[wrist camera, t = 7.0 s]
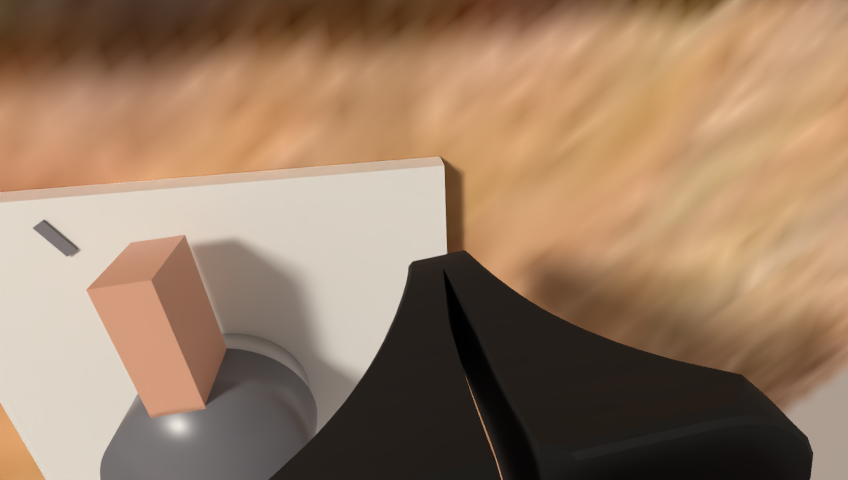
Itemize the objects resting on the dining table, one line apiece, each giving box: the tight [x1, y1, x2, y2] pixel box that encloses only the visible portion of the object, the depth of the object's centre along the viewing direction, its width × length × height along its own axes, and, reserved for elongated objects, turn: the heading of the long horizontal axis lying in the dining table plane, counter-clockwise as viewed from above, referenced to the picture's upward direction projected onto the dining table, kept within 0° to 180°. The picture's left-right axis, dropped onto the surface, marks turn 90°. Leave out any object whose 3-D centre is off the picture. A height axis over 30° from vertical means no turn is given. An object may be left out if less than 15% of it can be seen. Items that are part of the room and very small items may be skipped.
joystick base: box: [0, 156, 447, 480], centre depth 18 cm, size 16×16×2 cm
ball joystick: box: [86, 235, 317, 480], centre depth 15 cm, size 10×6×2 cm, turn 6°
